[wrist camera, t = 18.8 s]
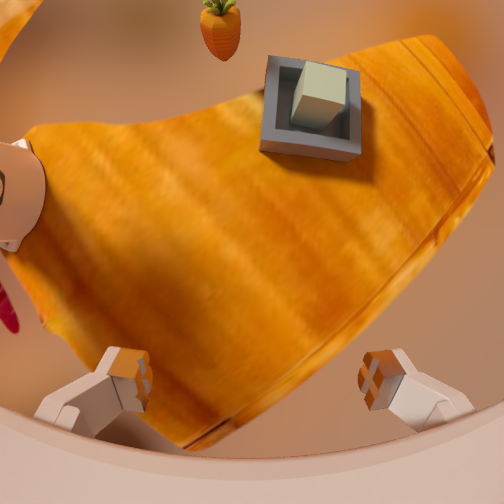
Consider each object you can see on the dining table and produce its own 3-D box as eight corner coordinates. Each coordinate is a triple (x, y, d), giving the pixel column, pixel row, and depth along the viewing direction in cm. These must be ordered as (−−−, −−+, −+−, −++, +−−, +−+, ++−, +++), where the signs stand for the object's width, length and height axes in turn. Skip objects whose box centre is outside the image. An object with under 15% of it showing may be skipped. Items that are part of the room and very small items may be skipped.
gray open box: (258, 150, 36) (260, 139, 31) (265, 73, 35) (268, 55, 30) (347, 162, 37) (361, 154, 32) (347, 86, 36) (359, 71, 31)
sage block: (289, 123, 35) (302, 94, 26) (293, 94, 35) (306, 60, 26) (323, 130, 35) (344, 104, 26) (325, 101, 35) (346, 70, 26)
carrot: (247, 65, 35) (250, -3, 20) (215, 78, 35) (203, 11, 20) (233, 43, 35) (230, -26, 20) (202, 54, 35) (186, -12, 20)
